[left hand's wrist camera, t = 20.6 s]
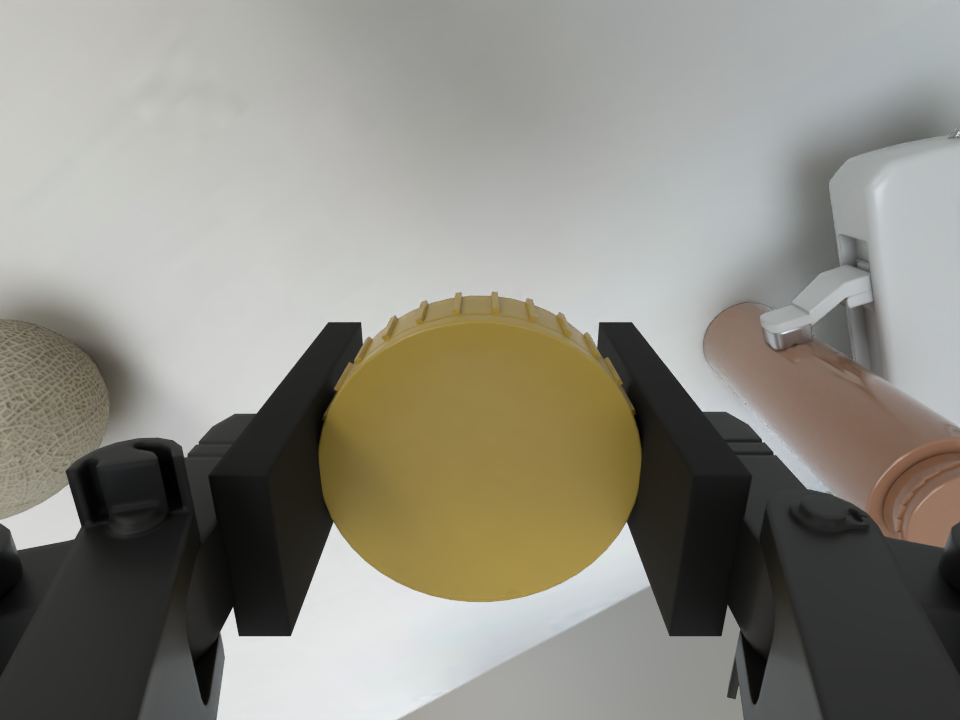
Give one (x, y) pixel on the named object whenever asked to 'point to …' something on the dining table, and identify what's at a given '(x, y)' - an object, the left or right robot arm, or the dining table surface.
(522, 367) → the lid
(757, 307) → the bottle
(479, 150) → the dining table surface
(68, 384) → the fruit
